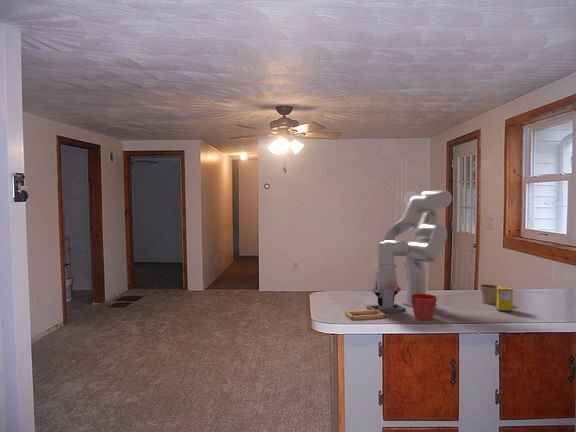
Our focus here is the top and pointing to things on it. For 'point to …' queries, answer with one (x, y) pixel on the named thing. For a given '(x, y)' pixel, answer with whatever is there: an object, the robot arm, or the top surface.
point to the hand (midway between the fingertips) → (385, 304)
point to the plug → (387, 299)
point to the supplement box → (504, 299)
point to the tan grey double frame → (372, 310)
